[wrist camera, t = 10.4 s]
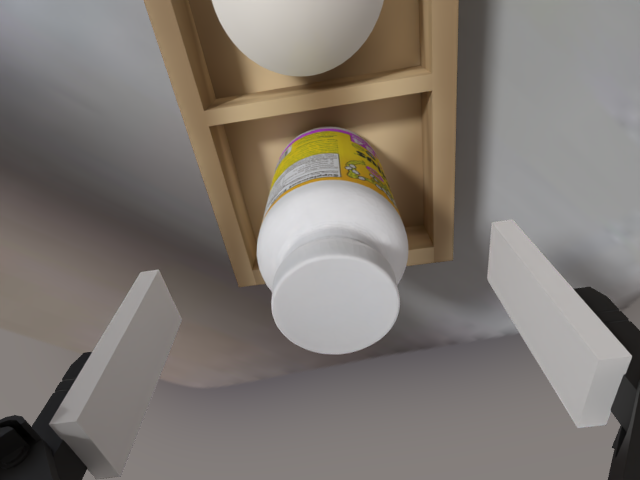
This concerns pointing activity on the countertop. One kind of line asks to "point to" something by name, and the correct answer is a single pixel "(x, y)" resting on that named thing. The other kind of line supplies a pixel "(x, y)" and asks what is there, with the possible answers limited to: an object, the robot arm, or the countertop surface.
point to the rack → (320, 117)
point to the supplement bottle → (332, 243)
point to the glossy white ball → (298, 31)
